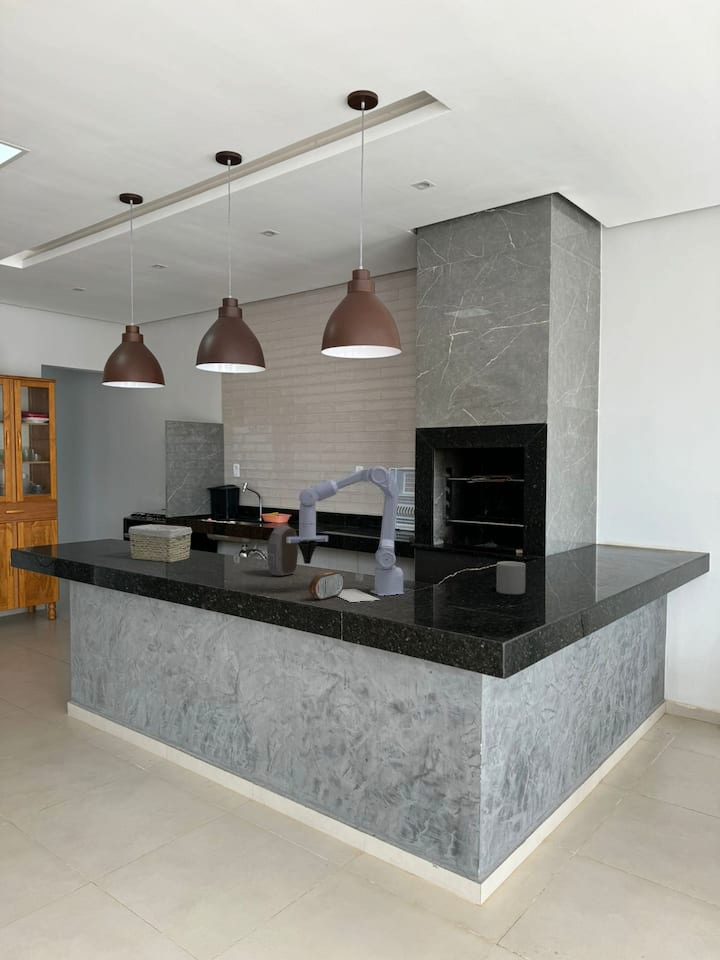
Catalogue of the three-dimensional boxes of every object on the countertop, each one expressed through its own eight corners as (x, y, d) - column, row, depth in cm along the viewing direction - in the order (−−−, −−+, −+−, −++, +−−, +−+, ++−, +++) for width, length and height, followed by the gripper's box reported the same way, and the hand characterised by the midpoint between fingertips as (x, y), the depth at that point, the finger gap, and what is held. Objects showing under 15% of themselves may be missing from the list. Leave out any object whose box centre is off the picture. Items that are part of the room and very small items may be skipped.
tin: (339, 592, 241) (338, 568, 241) (346, 593, 239) (345, 569, 239) (308, 601, 230) (308, 575, 229) (315, 602, 228) (315, 576, 227)
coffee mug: (518, 595, 243) (519, 566, 243) (491, 592, 249) (492, 563, 249) (532, 589, 255) (533, 562, 254) (506, 586, 260) (507, 559, 260)
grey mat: (354, 589, 250) (354, 588, 250) (379, 600, 231) (380, 599, 231) (327, 591, 245) (327, 590, 245) (350, 603, 227) (350, 601, 227)
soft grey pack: (278, 578, 270) (278, 526, 270) (260, 576, 274) (261, 525, 274) (300, 573, 283) (301, 523, 283) (283, 571, 287) (284, 522, 287)
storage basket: (193, 558, 320) (193, 526, 319) (170, 563, 305) (170, 529, 304) (151, 555, 329) (151, 523, 329) (126, 559, 314) (126, 526, 314)
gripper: (322, 522, 248) (322, 560, 248) (283, 523, 242) (283, 562, 242) (330, 523, 241) (330, 563, 242) (290, 525, 235) (290, 565, 236)
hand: (307, 563), depth 242 cm, fingers closed
